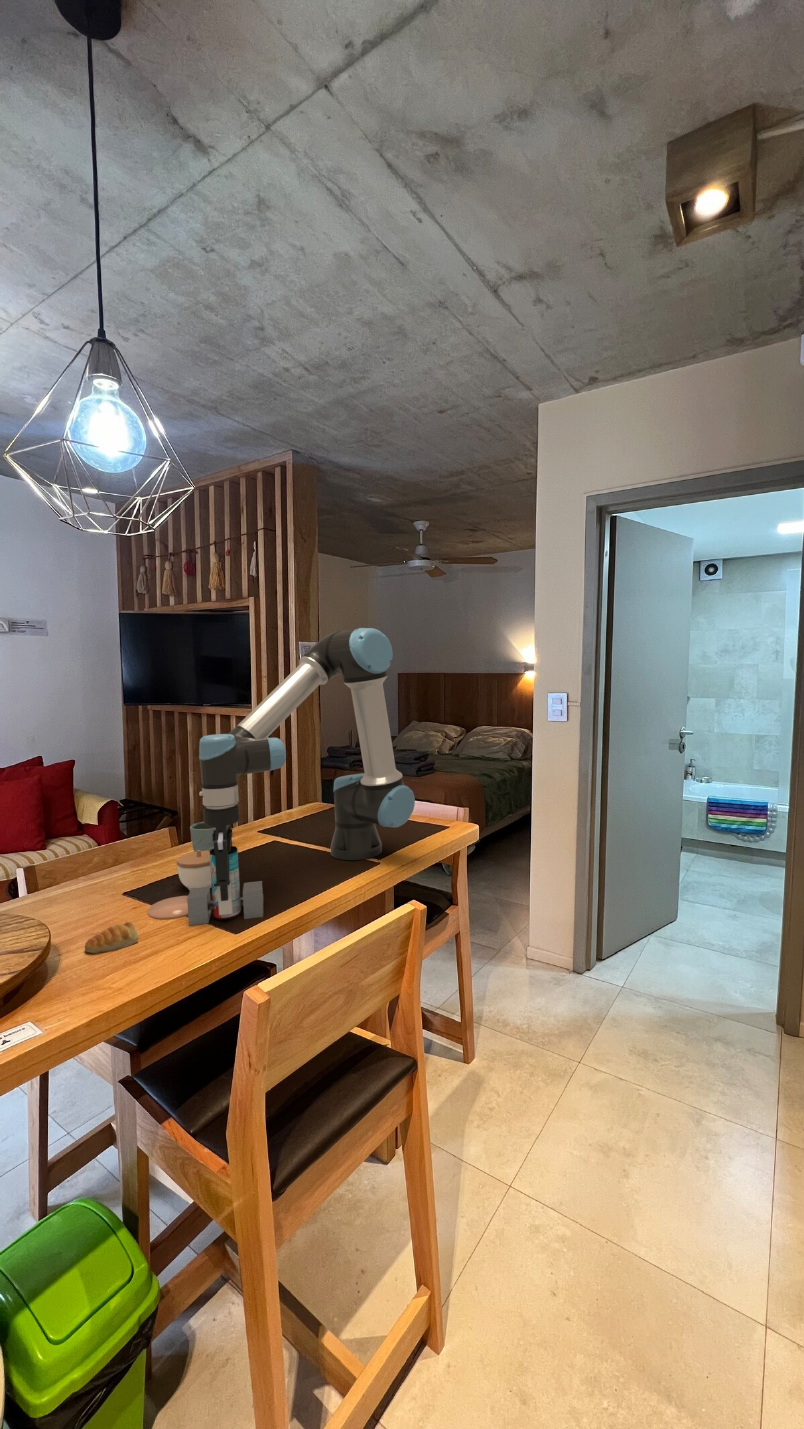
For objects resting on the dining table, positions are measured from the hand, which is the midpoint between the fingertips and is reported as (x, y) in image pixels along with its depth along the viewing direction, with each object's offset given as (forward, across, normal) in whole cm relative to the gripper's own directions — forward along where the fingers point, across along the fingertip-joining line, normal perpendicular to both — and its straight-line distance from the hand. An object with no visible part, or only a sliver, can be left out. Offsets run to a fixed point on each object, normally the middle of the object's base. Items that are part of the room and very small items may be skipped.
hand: (226, 907), depth 130 cm
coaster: (+2, -8, -12) cm, 15 cm away
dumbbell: (+2, -2, 0) cm, 2 cm away
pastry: (+2, +8, -21) cm, 23 cm away
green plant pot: (+2, -37, -7) cm, 38 cm away
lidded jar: (+2, -21, -8) cm, 23 cm away
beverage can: (+2, 0, 0) cm, 2 cm away
